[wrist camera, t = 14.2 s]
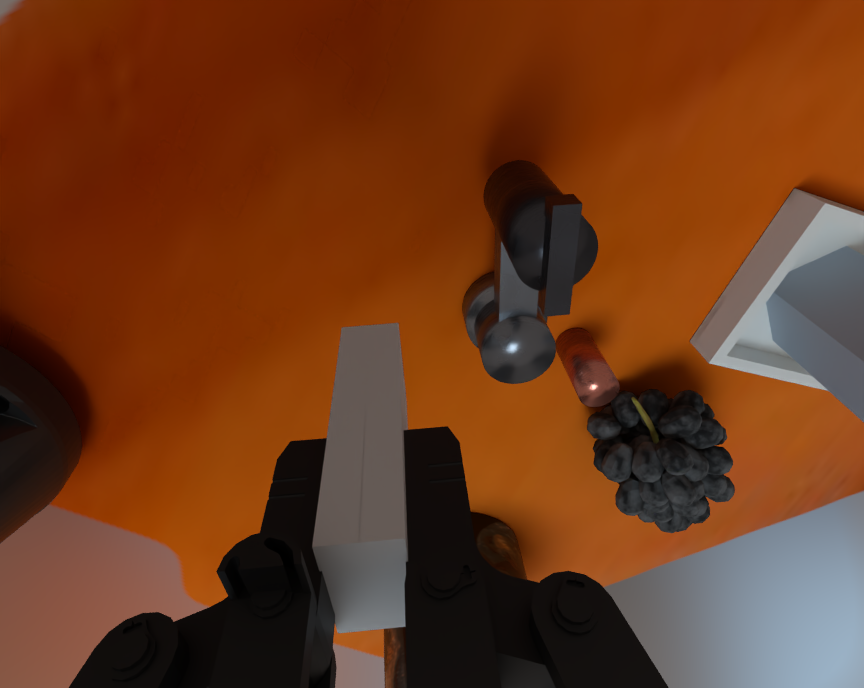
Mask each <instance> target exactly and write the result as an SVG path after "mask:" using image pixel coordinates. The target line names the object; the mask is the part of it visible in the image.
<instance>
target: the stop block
mask: <svg viewBox="0 0 864 688" xmlns="http://www.w3.org/2000/svg"><path fill="white" fill-rule="evenodd" d="M766 306H767V311H768V317H769V322H770V328H771V333H772V339H773V341H774V342H775V343H776V344H777V345H778V346H779V347H781V348H782V349H783V350H784V351H785V352H786V353H787V354H788V355H789V356H791V357H792V358H793V359H794V360H795V361H796V362H797V363H798V364H799V365H801V366H802V367H803V368H804V369H805V370H806V371H807V372H808V373H809V374H811V375H812V376H813V377H814V378H815V379H816V380H817V381H818V382H819V383H821V384H822V385H823V386H824V387H825V388H826V389H827V390H828V391H829V392H831V393H832V394H833V395H834V396H835V397H836V398H837V399H838V400H839V401H841V402H842V403H843V404H844V405H845V406H846V407H847V408H848V409H850V410H851V411H852V412H853V413H854V414H855V415H856V416H857V417H858V418H860V419H861V420H862V421H863V422H864V255H862V254H860V253H859V252H857V251H855V250H853V249H851V248H850V247H848V246H845V247H843V248H840V249H838V250H836V251H834V252H832V253H829V254H827V255H825V256H823V257H820V258H818V259H816V260H814V261H812V262H809V263H807V264H805V265H803V266H800V267H798V268H796V269H794V270H792V271H789V272H788V274H787V275H786V276H785V278H784V279H783V280H782V282H781V283H780V284H779V286H778V287H777V288H776V290H775V291H774V292H773V294H772V295H771V297H770V298H769V299H768V301H767V302H766Z"/></svg>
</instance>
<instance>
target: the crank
mask: <svg viewBox="0 0 864 688" xmlns="http://www.w3.org/2000/svg"><path fill="white" fill-rule="evenodd" d="M484 204H485V207H486V210H487V212H488V214H489V216H490V218H491V220H492V222H493V224H494V227H495V265H494V300H492V301H490V302H489V303H487V304H486V305H485V306H484V307H483V308H482V309H481V310H480V312H479V313H478V315H477V317H476V320H475V324H474V332H475V336H476V339H477V343H478V347H479V351H480V354H481V358H482V362H483V365H484V368H485V370H486V371H487V373H488V374H489V375H490V376H491V377H493V378H494V379H496V380H498V381H500V382H504V383H510V384H518V383H524V382H527V381H530V380H533V379H535V378H537V377H538V376H540V375H541V374H543V373H544V372H545V371H546V370H547V369H548V368H549V367H550V365H551V364H552V362H553V360H554V357H555V353H556V344H555V341H554V338H553V336H552V334H551V332H550V330H549V328H548V326H547V324H546V322H545V320H544V318H543V316H555V315H567V314H570V305H571V296H572V288H573V285H574V284H576V283H577V282H579V281H580V280H581V279H582V278H583V277H584V276H585V275H586V274H587V273H588V272H589V271H590V269H591V268H592V266H593V264H594V262H595V259H596V256H597V252H598V240H597V236H596V233H595V231H594V229H593V228H592V226H591V225H590V224H589V223H588V222H587V221H586V219H585V218H584V217H583V216H582V215H581V210H582V203H581V202H580V201H579V200H578V199H577V197H576V196H575V195H574V194H568V195H563V193H562V192H561V191H560V190H559V189H558V188H557V187H556V185H555V184H554V183H553V182H552V181H551V180H550V179H549V178H548V176H547V175H546V174H545V173H544V172H543V171H542V170H541V169H540V168H539V167H538V166H537V165H535V164H533V163H531V162H528V161H523V160H517V161H512V162H508V163H506V164H504V165H502V166H500V167H499V168H498V169H496V170H495V171H494V172H493V174H492V175H491V176H490V178H489V179H488V181H487V183H486V186H485V189H484ZM537 304H538V305H539V307H540V309H541V312H542V314H543V316H542V314H541V312H540V310H539V308H538V306H537Z"/></svg>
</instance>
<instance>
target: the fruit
mask: <svg viewBox="0 0 864 688" xmlns="http://www.w3.org/2000/svg"><path fill="white" fill-rule="evenodd" d="M713 417H714V413H713V411H712V409H711V408H710V406H709V405H708V404H704V402H703V398H702V396H700V395H699V394H698V393H696V392H694V391H691V390H687V391H682V392H679V393H678V394H677V395H676V396H675V397H674V399H672V398H671V399H667V397H666V395H665V394H664V393H662V392H660V391H659V390H654V389H649V390H647V391H645V392H642V393H641V395H640V397H639V399H638V398H637V397H636V396H635V395H634V394H633V393H631V392H627V391H622V392H618V394H617V396H616V397H615V398H614V399H613V400H612V401H611V406H607V407H605V408H604V409H603V410H601V411H600V412H596V413H594V414H592V415H591V416H590V417H589V418H588V426H587V430H588V431H589V432H590V433H591V435H592V436H593V437H594V438H597V439H598V440H596V441H595V444H594V447H593V450H594V452H595V457H594V465H595V467H596V468H597V469H598V470H599V471H601V472H602V473H603V474H604V475H605V476H606V477H607V478H608V479H609V480H611V481H614V482H617V483H618V484H620V486H619V488H618V491H617V493H616V505H617V507H618V509H619V510H620V511H621V512H623V513H624V514H626V515H632V516H635V515H638V517H639V519H641V520H642V521H644V522H654V521H655V524H656V525H657V526H658V527H659V529H660V530H661V531H664V532H668V533H674V532H675V531H676V532H679V531H683V530H686V529H687V528H688V527H689V526H690V525H691V524H692V523H694V524H696V523H703V522H704V521H705V520H706V519H707V518H708V517H709V515H710V507H709V506H708V505H709V503H708V501H707V499H706V497H708V498H710V499H711V500H713V501H715V502H725V501H729V500H730V499H731V498H732V497H733V495H734V492H735V488H734V485H733V483H732V482H731V480H730V479H729V478H728V477H726V476H724V474H725V473H727V472H729V471H730V469H731V467H732V465H733V460H732V458H731V456H730V454H729V452H728V451H727V450H726V449H724V448H723V447H718V446H714V445H719V444H723V443H724V441H725V440H726V439H727V435H726V430H725V428H723V427H722V426H721V425H720V424H719V422H718V421H717V420H715V419H713ZM705 496H706V497H705Z"/></svg>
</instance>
